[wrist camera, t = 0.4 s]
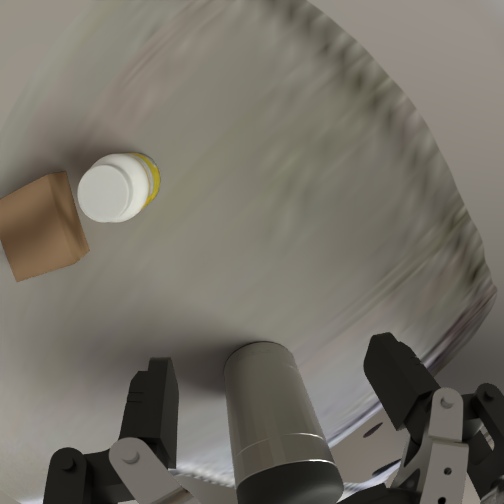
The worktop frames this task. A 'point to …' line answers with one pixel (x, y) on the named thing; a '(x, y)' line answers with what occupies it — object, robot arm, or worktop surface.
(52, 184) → the walnut block
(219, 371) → the worktop surface
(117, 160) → the supplement bottle
